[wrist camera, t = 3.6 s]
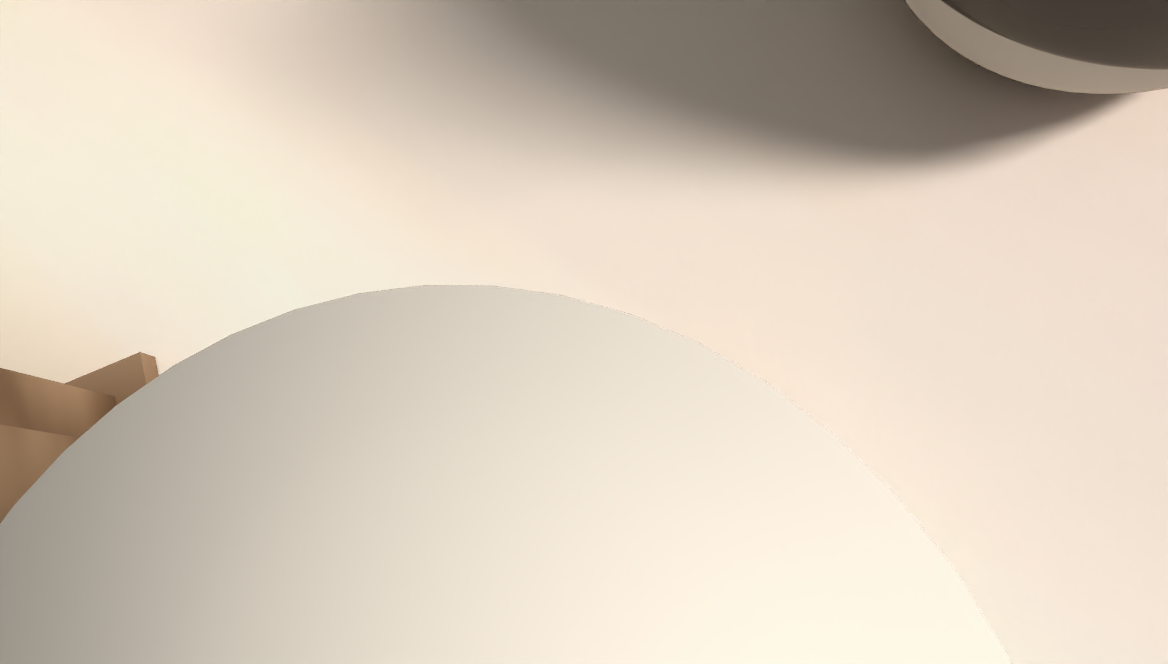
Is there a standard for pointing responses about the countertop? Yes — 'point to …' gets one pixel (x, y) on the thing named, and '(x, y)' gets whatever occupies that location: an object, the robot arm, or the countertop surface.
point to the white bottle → (470, 506)
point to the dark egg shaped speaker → (1059, 40)
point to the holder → (56, 417)
